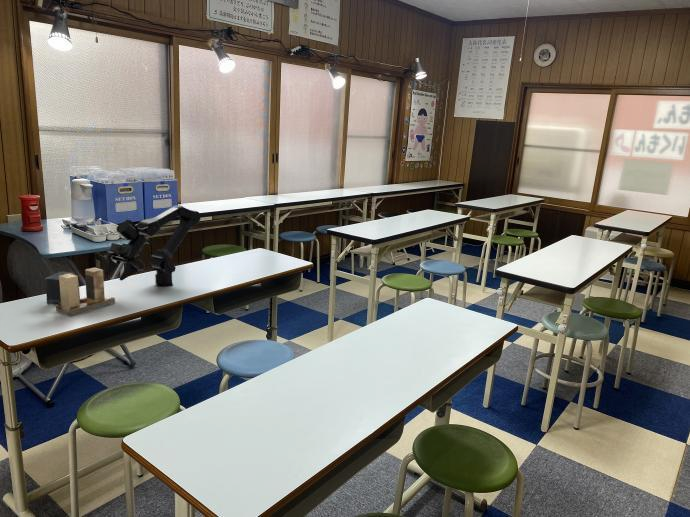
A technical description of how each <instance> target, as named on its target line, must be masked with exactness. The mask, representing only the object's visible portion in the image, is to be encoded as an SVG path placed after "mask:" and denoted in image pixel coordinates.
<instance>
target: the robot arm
mask: <svg viewBox="0 0 690 517" xmlns="http://www.w3.org/2000/svg"><path fill="white" fill-rule="evenodd" d="M178 217H179V224H178V225H177V227H176V228H175V230H174V232H172V234H171V236H170V237H169V239H168V241H167V242H166V243H165V245H164V246H163V247H162V249H158V248H157V249H155V250H154V252H153V254H152V255H150V257H151V258H150V260H149V261H150V266H151V267H152V271H154V272H155V271H156V273H155V274H154V277H155V278H154V280H155V282H154V283H155V285H156V286H157V287H169V286H171V287H172V286H173V285H174V284H173V273H175V271H176V265H174V264H173V263H172V262H173V255H174V254H175V252H176V251H177V248H178V247H179V246H180V244H181V243H182V241H183V239H184V238H185V237H186V235H187V233H188V232H189V230H190V229H192V228H194V227H196V226H197V225H198V223H200V221H201V214H200V212H199V211H197V210H192V209H189V208H186V207H185V206H182V205H173V206H171V207H170V208H168V209H166V210H165V211H163V212H162V213H160V214H158V215H157V216H155V217H152V218H146V219H143V220H140V221H139V222H138V223H137V224H134V222H133V221H132V220H130V219H127V218H126V219H125V221H123V222H120V223H119V224H118V225H117V227H116V232H117V233H118V234H119V235H120V236H121V237H122V238H124V240H126V241H128V242H127V243H121V244H117V243H114V242H111V244H110V248H109V250H108V251H106V252H105V253H104V255H103V257H104V258H105V260H106V267H105V271H104V273H103V276H105V277H108V276H109V275H111V274H112V273H113V272H114V271H115V270H116V269H117V268H118V267H119V266H120V264H121V263H124V264H125V268H124V270H123V272H122V274H121V275H120V277H119V281H121V282H122V281H124V280H126V279H128V277H130V276H132V275H134V274H136V273H138V272H140V271H144V270H145V268H146V264H145V263H144V262H143V261H142V260H141V259H140V258H138V256H141V255H142V253H141V251H142V249H143V247H144V246H146V244H147V245H151V240H150V239H151V238H150V237H153V236H155V235H156V234H157V233H158V232H159V231H160V230H161V228H162V227H164V226H165V225H167V224H168V223H170V222H171V221H173V220H175V219H176V218H178ZM147 236H149V237H147Z"/></svg>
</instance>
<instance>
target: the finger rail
mask: <svg viewBox="0 0 690 517" xmlns="http://www.w3.org/2000/svg"><path fill="white" fill-rule="evenodd" d="M78 277H79V276H78V275H76V274H75V275H73V274H65V275H60V276H59V283H60V295H61V304H60V305H58V304H55V312H57V311H58V313H60V314H63V315H66V316H69V317H74V316H77V315H80V314H84V313H88V312H91V311H94V310H97V309H101V308H103V306H104V307H106V306H110V304H111V305H115V303H116V297H109V298H108V297H105V300H102V301H98V302H95V303H90V302H88V301H87V296H85V297H82V298H81V293H80V281H79V278H78ZM100 307H101V308H100Z"/></svg>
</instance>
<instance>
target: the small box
mask: <svg viewBox="0 0 690 517" xmlns="http://www.w3.org/2000/svg"><path fill="white" fill-rule="evenodd" d="M65 274H73V275H76V272H69V271H61V270H60V271H58V272H57V273H54V274H51V275H50V276H47V277H45V278H44V279H45V280H44V281H45V291H46V293H45V294H46V304H48V305H60V304H61V295H60V283H59V276H60V275H65Z"/></svg>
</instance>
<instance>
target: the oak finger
mask: <svg viewBox="0 0 690 517" xmlns="http://www.w3.org/2000/svg"><path fill="white" fill-rule="evenodd" d="M84 281H85V294H86V295H85V297H87V301H88V302H90V303H95V302H98V301H102V300H105V298H106V297H105V282H104V269H101V268H97V267H91V268H86V269H85V275H84Z"/></svg>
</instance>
